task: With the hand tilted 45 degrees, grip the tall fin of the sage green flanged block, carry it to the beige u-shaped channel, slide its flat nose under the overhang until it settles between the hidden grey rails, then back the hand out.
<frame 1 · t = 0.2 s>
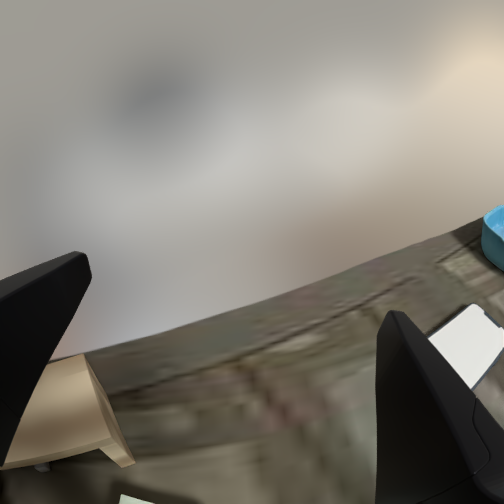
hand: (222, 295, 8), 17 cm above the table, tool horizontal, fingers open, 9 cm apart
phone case: (464, 351, 27), on the table
beige u-shaped channel: (2, 457, 12), on the table
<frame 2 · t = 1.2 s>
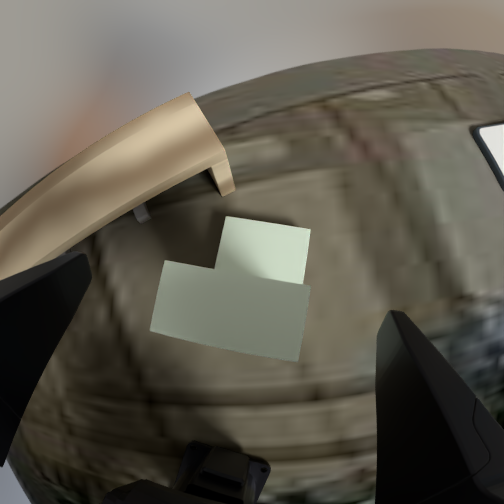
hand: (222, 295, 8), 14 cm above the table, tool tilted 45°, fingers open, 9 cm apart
sage green flanged block: (258, 283, 22), on the table
beige u-shaped channel: (99, 226, 24), on the table
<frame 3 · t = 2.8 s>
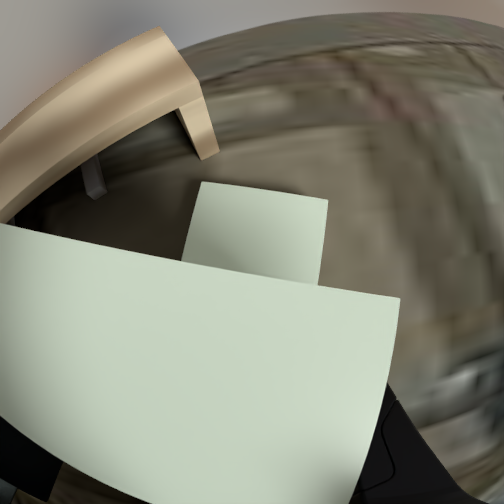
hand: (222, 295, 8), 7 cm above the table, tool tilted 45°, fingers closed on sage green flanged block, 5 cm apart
sage green flanged block: (250, 281, 15), on the table, touching gripper
beige u-shaped channel: (48, 206, 17), on the table
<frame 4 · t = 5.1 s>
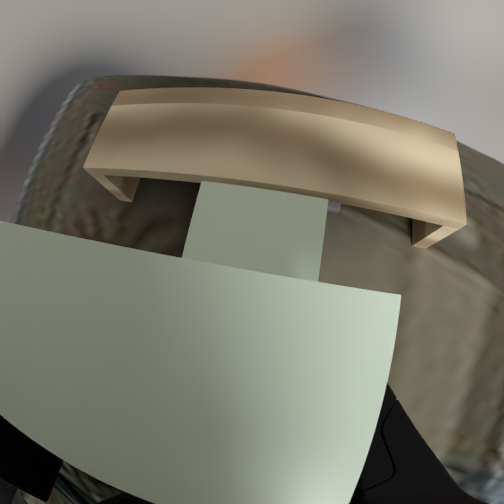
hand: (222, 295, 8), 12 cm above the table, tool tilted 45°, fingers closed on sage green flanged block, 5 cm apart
sage green flanged block: (250, 280, 15), point 5 cm above the table, touching gripper
beige u-shaped channel: (275, 178, 21), on the table
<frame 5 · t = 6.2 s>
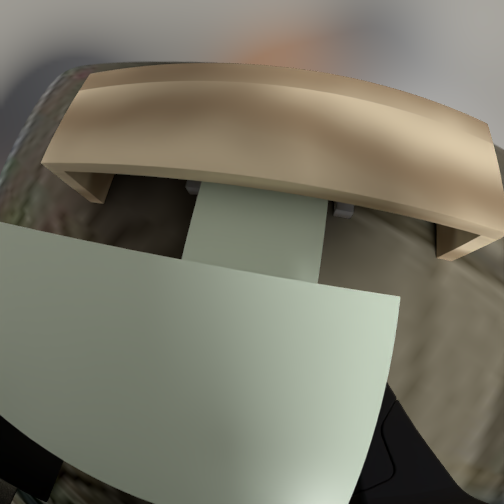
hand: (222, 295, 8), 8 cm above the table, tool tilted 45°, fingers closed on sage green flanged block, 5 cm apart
sage green flanged block: (250, 281, 15), point 1 cm above the table, touching gripper
beige u-shaped channel: (273, 174, 17), on the table
when the fingers open (8 cm above the table, at t = 7.4 s): sage green flanged block drops 1 cm, on the table.
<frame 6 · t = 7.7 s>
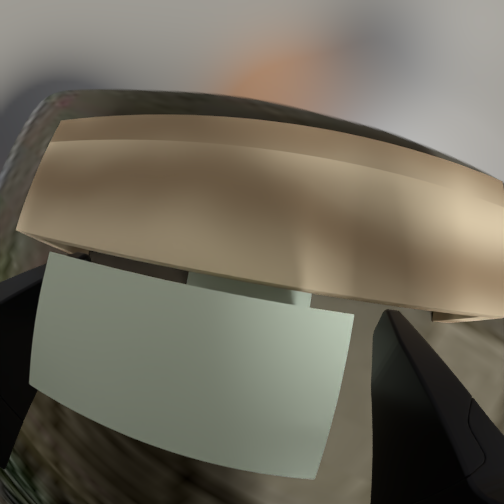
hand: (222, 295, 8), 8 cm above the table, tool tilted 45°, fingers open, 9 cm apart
sage green flanged block: (252, 286, 16), on the table
beige u-shaped channel: (262, 234, 17), on the table
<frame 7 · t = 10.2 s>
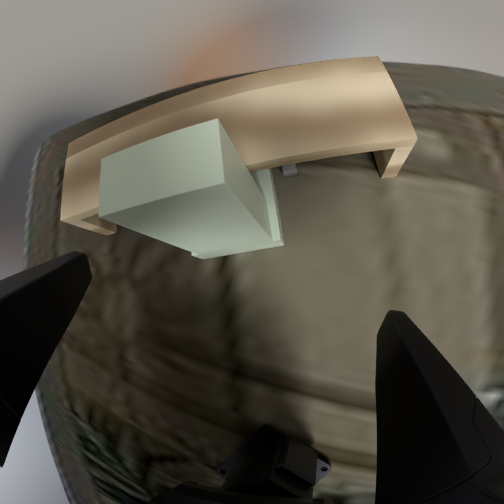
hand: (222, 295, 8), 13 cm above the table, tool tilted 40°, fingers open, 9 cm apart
sage green flanged block: (235, 199, 22), on the table
beige u-shaped channel: (231, 164, 22), on the table
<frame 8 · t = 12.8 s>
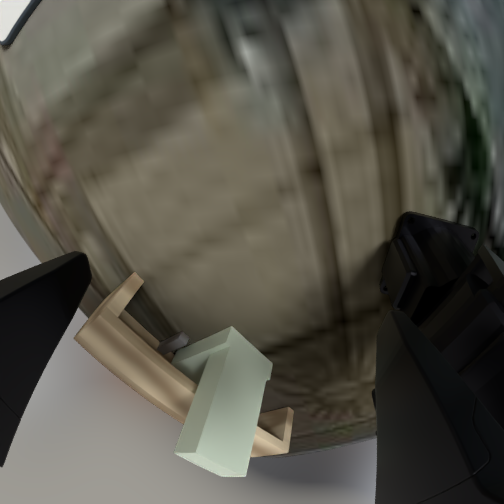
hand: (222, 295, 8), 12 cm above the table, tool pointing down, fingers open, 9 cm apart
sage green flanged block: (222, 357, 28), on the table
beige u-shaped channel: (203, 365, 29), on the table
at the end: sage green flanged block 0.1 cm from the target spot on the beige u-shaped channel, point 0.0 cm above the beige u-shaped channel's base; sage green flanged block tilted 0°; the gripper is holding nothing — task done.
